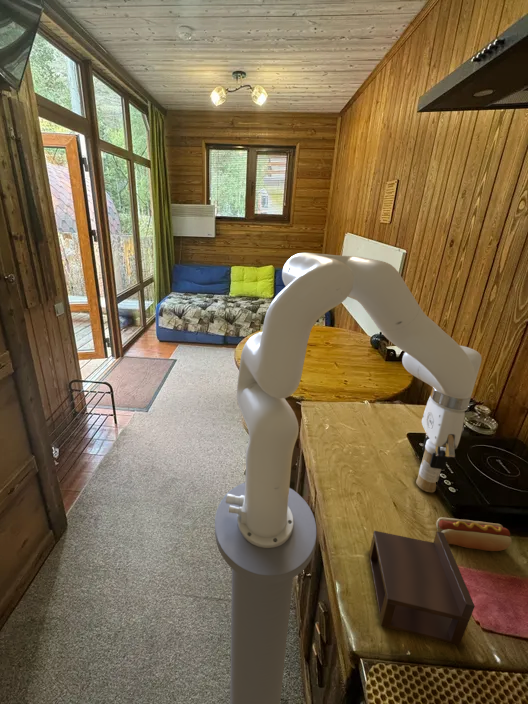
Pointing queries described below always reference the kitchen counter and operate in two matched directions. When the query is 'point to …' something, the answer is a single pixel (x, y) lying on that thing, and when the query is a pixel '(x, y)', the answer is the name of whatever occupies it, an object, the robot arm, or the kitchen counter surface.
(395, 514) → the kitchen counter surface
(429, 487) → the sprinkles bottle
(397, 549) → the spice rack
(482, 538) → the food
